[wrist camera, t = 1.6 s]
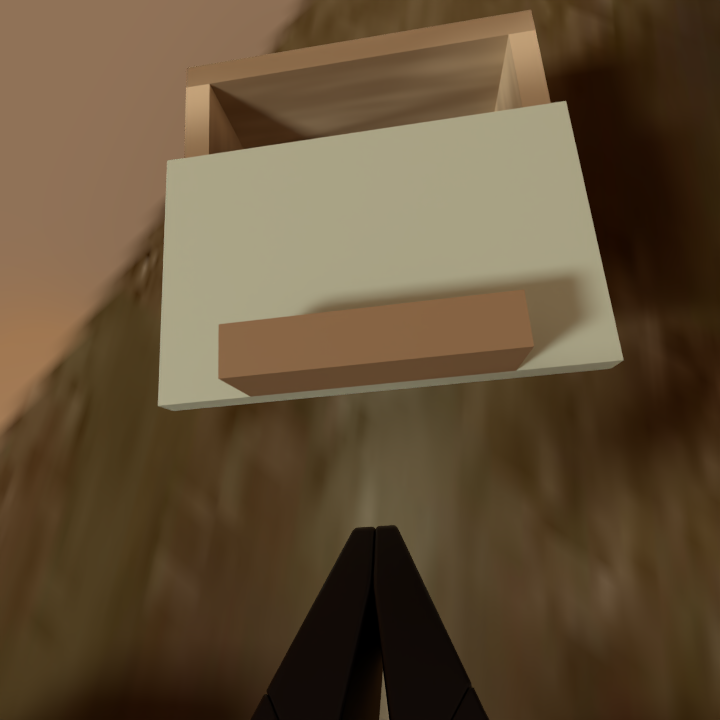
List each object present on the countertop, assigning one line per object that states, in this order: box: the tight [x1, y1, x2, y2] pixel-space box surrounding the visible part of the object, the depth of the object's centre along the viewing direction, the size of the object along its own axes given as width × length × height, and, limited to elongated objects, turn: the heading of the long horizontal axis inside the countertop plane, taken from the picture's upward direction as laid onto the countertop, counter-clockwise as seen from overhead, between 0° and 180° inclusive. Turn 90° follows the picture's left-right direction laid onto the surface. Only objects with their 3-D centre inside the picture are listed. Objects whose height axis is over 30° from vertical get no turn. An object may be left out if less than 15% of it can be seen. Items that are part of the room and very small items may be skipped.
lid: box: [158, 101, 623, 411], centre depth 15 cm, size 9×14×4 cm, turn 94°
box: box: [184, 10, 551, 158], centre depth 23 cm, size 9×14×8 cm, turn 94°
